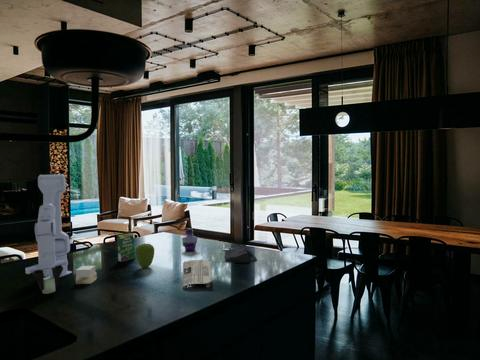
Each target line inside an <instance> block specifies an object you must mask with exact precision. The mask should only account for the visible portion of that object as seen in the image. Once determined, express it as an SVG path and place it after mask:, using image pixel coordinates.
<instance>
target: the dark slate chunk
mask: <svg viewBox="0 0 480 360" xmlns="http://www.w3.org/2000/svg"><path fill="white" fill-rule="evenodd" d="M223 256H224V257H223V258H224V262H225V263H228V264H230V263H231V264H233V263H238V264H240V263H250V262H257V260H258V259H257V257H256V256H255V255H254V253H253V252H252V251H251V250H250V248H249V247H248V246H243V245H237V246H235V247H232V248H229V249H226V250H225V251H224V255H223Z"/></svg>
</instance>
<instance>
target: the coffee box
mask: <svg viewBox="0 0 480 360" xmlns="http://www.w3.org/2000/svg"><path fill="white" fill-rule="evenodd" d="M134 235H135V233H134V232H128V233H124V234H118V235H116V245H117V260H118V262H120V263H123V262H127V261H132V260H135V259H136V252H135V251H136V248H135V236H134Z"/></svg>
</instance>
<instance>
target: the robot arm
mask: <svg viewBox="0 0 480 360" xmlns="http://www.w3.org/2000/svg"><path fill="white" fill-rule="evenodd" d="M66 181H67V180H66V176H65V174H64V173H61V174H59V173H58V174H39V176H38V177H37V187H38V189H39V190H40V192H41V194H43V195H42V197H43V198H42V199H43V202H42V205H40V206H39V209H38V215H37V216H38V217H37V222H35V224H34V234H35V235H34V236H35V241H36V242H37V255H38V260H37V261H38V264H34V265H32V266H28V267H25V268H24V269H25V274H27V275H30V274H32V275H33V276H34V278H35V280H36V282H37V285H38V287H39V290H40V291H42V290H44V284H43V278H46V277H55V288H57V287H59V280H60V278H61V277H64V276H67V275H70V274H72V273H73V271H71V270H68V265H69V260H68V258H67V257H68V255H67V254H68V253H69V252H70V250H71V241H70V236H69V234H67V233H66V232H64V231H63V230H62V229H63V225H62V205H61V204H62V203H61V202H62V201H61V198H62V195H63V194H64V193H66V190H67V183H66Z"/></svg>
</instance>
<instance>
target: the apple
mask: <svg viewBox="0 0 480 360" xmlns="http://www.w3.org/2000/svg"><path fill="white" fill-rule="evenodd" d="M154 257H155V248H154V246H153V244H151V243H142V244H138V245H137V246H136V248H135V259H136V261H137V263H138V265H139V266H140V267H141V269H148V268H149V267H150V266H151V265H152V263H153V259H154Z"/></svg>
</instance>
